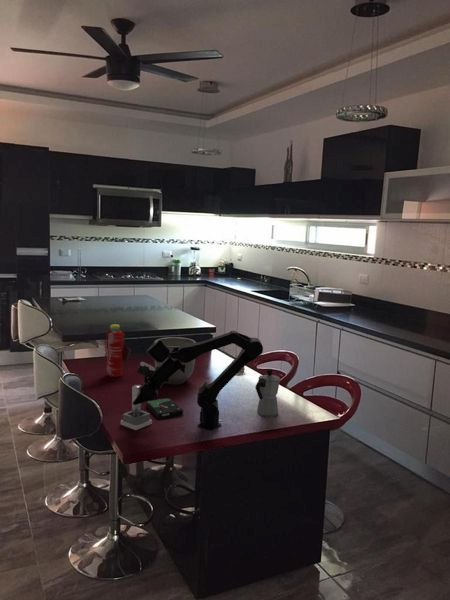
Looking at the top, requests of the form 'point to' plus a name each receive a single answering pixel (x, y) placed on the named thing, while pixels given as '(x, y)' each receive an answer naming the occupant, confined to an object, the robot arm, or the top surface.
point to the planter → (179, 375)
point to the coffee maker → (267, 394)
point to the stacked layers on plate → (241, 370)
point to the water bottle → (115, 351)
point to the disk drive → (164, 408)
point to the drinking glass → (135, 392)
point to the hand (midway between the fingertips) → (135, 399)
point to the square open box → (136, 420)
